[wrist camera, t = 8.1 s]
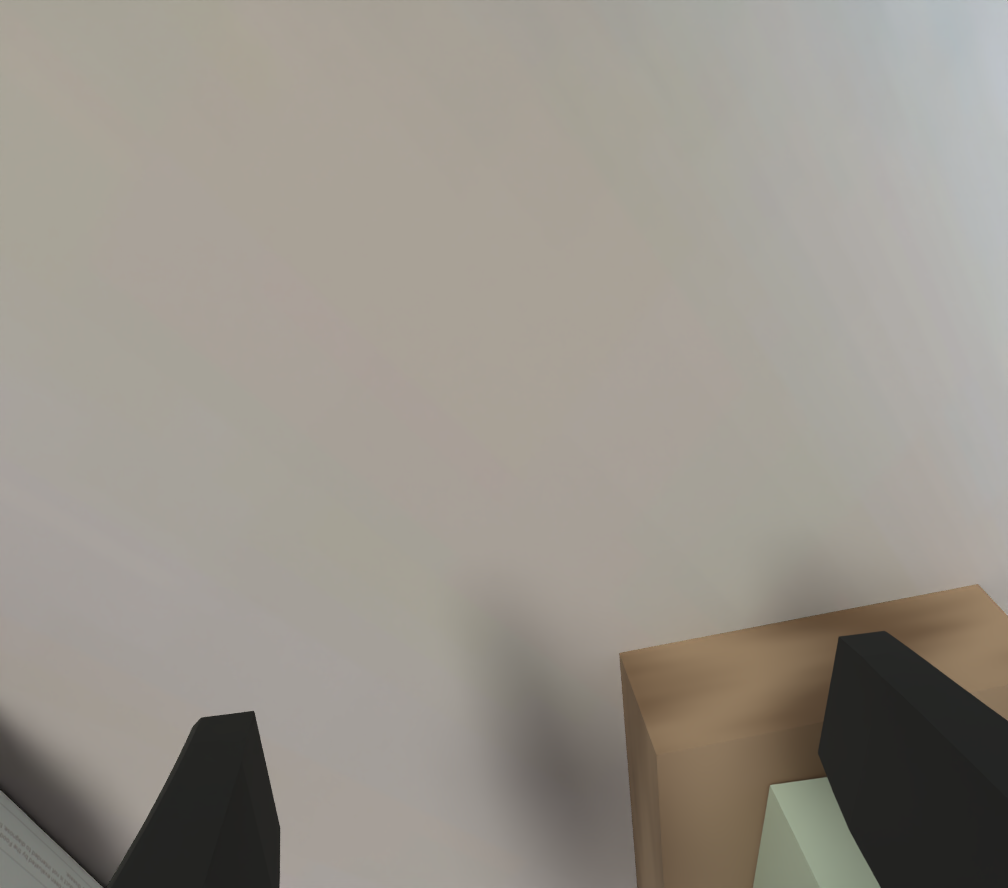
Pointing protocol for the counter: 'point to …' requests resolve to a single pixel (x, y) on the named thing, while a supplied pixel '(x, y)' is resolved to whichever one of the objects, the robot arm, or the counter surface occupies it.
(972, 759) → the robot arm
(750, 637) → the walnut block
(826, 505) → the counter surface
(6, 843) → the supplement box
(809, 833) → the sage cube
